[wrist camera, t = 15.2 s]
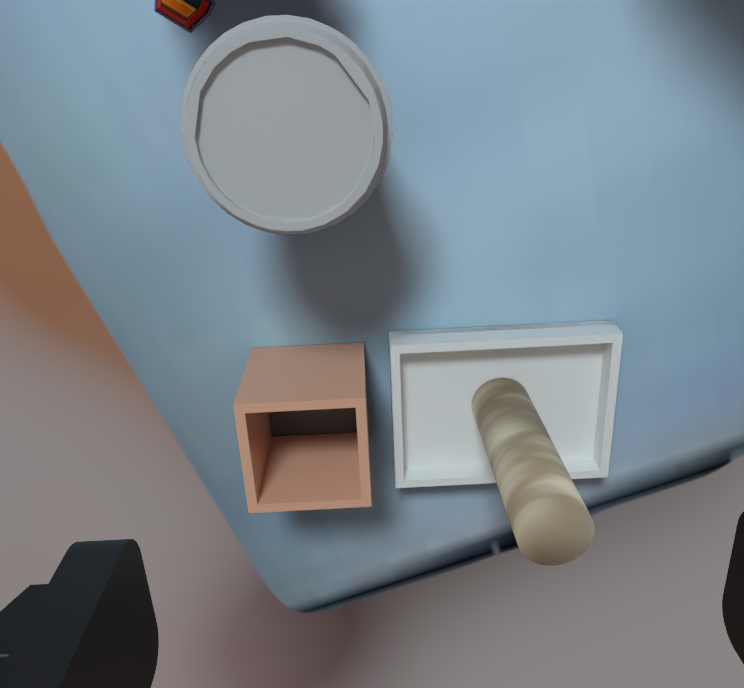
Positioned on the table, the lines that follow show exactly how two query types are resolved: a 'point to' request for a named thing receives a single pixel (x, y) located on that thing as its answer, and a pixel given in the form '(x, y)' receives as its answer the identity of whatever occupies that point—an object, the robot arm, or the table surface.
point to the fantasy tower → (185, 11)
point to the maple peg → (531, 475)
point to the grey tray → (500, 360)
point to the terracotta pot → (303, 452)
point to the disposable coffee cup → (286, 124)
